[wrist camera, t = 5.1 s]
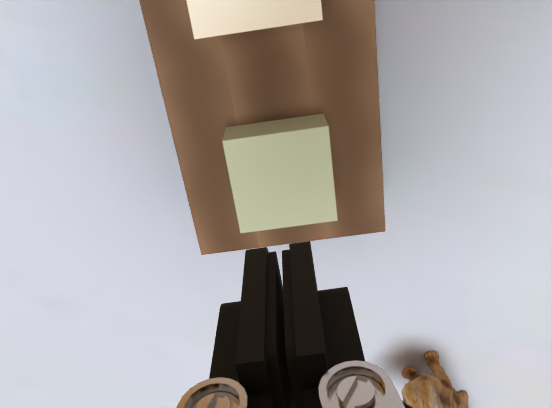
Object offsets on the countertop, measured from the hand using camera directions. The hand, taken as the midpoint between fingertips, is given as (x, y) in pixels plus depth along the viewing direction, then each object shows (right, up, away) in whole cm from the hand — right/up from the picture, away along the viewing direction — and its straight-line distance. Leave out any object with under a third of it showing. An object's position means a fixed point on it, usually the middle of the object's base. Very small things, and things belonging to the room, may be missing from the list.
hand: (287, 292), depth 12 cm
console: (-1, +12, +19) cm, 23 cm away
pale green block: (0, +6, +20) cm, 21 cm away
